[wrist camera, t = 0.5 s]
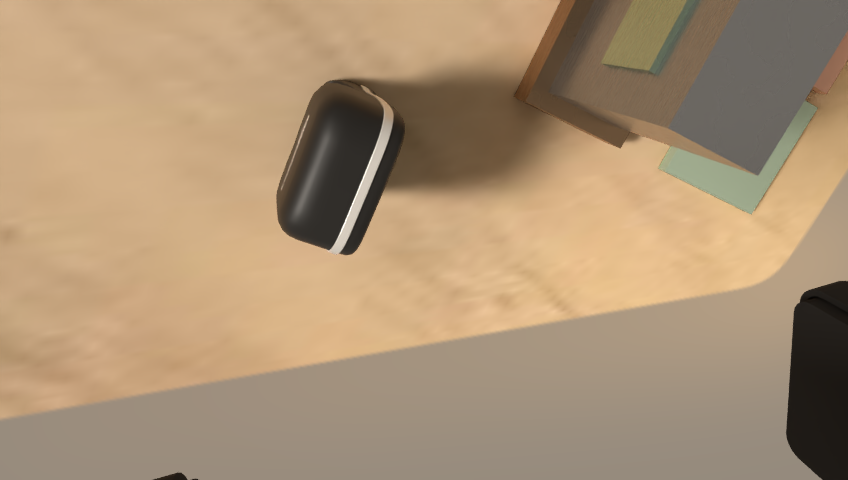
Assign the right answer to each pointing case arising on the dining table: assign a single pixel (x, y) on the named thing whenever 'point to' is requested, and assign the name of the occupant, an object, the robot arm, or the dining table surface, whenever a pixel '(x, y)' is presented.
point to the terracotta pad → (833, 67)
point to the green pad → (732, 181)
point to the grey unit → (685, 71)
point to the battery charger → (339, 166)
